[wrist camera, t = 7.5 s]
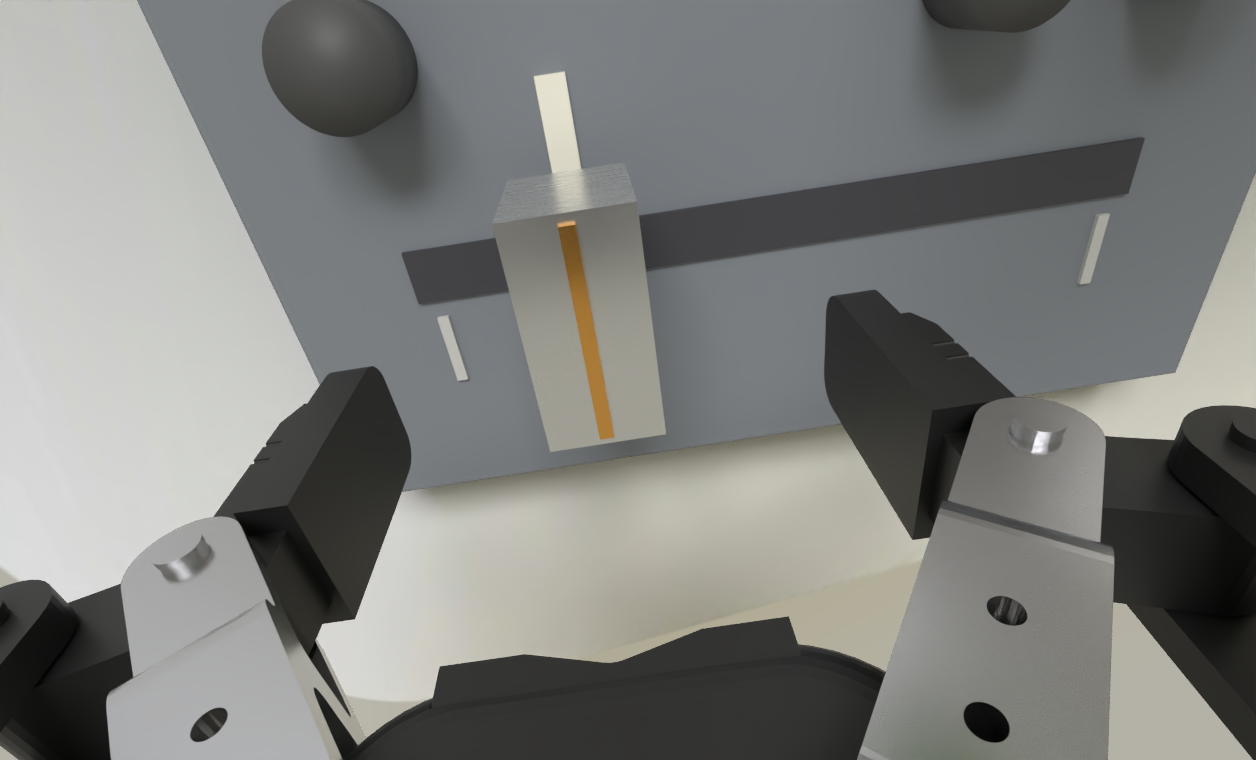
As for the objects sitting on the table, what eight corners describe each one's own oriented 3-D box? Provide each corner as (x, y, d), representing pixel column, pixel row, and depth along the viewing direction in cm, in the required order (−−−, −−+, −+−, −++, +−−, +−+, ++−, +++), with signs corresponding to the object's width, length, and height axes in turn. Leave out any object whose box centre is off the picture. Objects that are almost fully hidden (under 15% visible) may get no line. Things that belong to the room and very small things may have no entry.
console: (1289, -189, 14) (1549, -258, 11) (1116, 336, 22) (1232, 407, 18) (193, -16, 14) (57, -22, 11) (392, 448, 22) (354, 542, 18)
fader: (619, 147, 14) (637, 203, 10) (644, 334, 17) (666, 437, 13) (513, 163, 14) (491, 225, 10) (555, 348, 17) (550, 455, 13)
